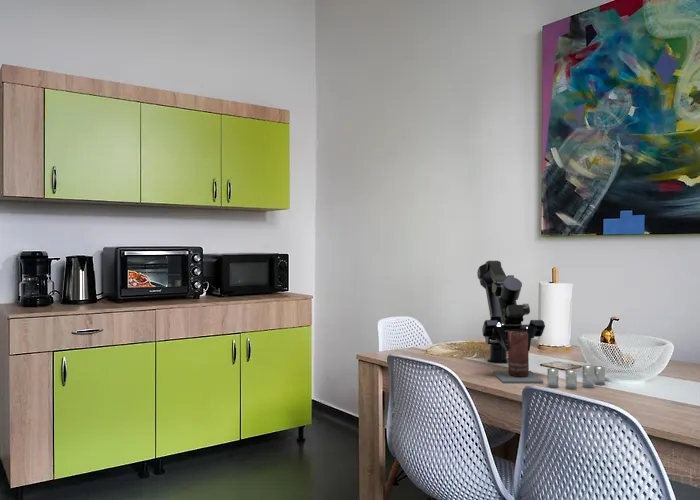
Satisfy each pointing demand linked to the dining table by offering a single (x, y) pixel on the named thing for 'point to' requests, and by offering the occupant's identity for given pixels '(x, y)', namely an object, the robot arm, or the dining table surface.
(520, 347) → the can
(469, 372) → the dining table surface
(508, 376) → the mat
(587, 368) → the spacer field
